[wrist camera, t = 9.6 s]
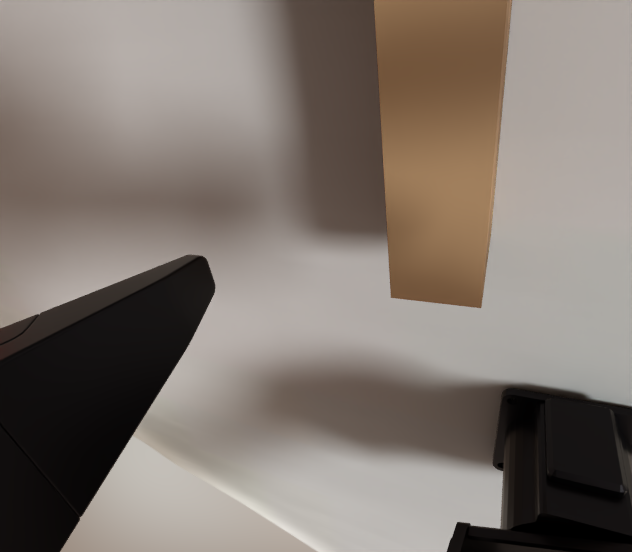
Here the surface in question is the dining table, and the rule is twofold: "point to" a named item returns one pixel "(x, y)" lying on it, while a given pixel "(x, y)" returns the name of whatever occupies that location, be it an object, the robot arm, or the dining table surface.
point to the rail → (440, 141)
